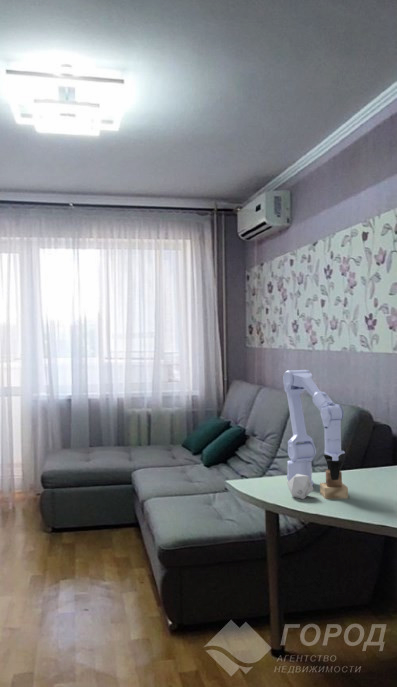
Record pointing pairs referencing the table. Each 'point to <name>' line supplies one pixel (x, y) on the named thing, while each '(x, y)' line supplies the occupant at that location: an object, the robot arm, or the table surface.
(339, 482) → the walnut cube
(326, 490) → the oak block
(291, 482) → the white faceted polyhedron
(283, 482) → the table surface
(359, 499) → the table surface
